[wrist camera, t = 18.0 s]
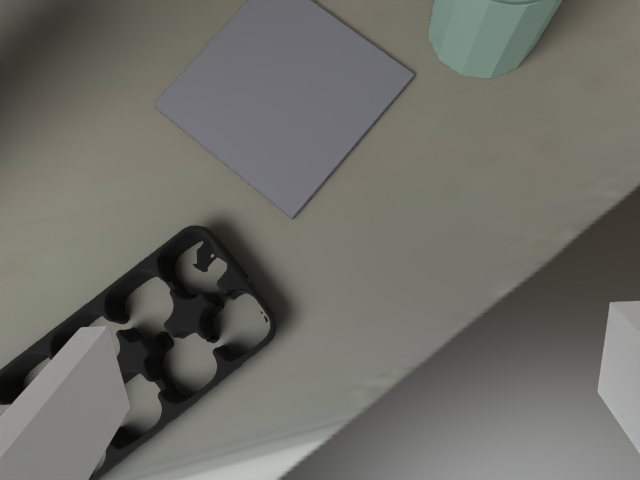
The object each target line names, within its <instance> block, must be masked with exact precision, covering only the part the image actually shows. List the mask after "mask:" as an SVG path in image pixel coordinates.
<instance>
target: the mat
mask: <svg viewBox="0 0 640 480" xmlns="http://www.w3.org/2000/svg"><path fill="white" fill-rule="evenodd" d="M414 75H415V74H413V73H412V72H410V71H409V70H408V69H406V68H405V67H403V66H402V65H401V64H399V63H398V62H396V61H395V60H394V59H392V58H391V57H389V56H388V55H387V54H385V53H384V52H382V51H381V50H380V49H378V48H377V47H375V46H374V45H373V44H371V43H370V42H368V41H367V40H366V39H364V38H363V37H361V36H360V35H359V34H357V33H356V32H354V31H353V30H352V29H350V28H349V27H347V26H346V25H345V24H343V23H342V22H340V21H339V20H338V19H336V18H335V17H333V16H332V15H331V14H329V13H328V12H326V11H325V10H324V9H322V8H321V7H319V6H318V5H317V4H315V3H314V2H312V1H311V0H247V2H246V3H245V4H244V5H243V6H242V7H241V8H240V9H239V10H238V11H237V13H236V14H235V15H234V16H233V17H232V18H231V19H230V20H229V21H228V22H227V24H226V25H225V26H224V27H223V28H222V29H221V30H220V31H219V32H218V33H217V35H216V36H215V37H214V38H213V39H212V40H211V41H210V42H209V43H208V44H207V45H206V47H205V48H204V49H203V50H202V51H201V52H200V53H199V54H198V55H197V56H196V58H195V59H194V60H193V61H192V62H191V63H190V64H189V65H188V66H187V67H186V69H185V70H184V71H183V72H182V73H181V74H180V75H179V76H178V77H177V78H176V80H175V81H174V82H173V83H172V84H171V85H170V86H169V87H168V88H167V89H166V91H165V92H164V93H163V94H162V95H161V96H160V97H159V98H158V99H157V100H156V102H155V103H154V104H153V106H154V107H155V108H156V109H158V110H159V111H160V112H161V113H162V114H164V115H165V116H166V117H167V118H169V119H170V120H171V121H172V122H174V123H175V124H176V125H177V126H178V127H180V128H181V129H182V130H183V131H185V132H186V133H187V134H188V135H189V136H191V137H192V138H193V139H194V140H196V141H197V142H198V143H199V144H200V145H202V146H203V147H204V148H205V149H207V150H208V151H209V152H210V153H211V154H213V155H214V156H215V157H216V158H218V159H219V160H220V161H221V162H223V163H224V164H225V165H226V166H227V167H229V168H230V169H231V170H232V171H234V172H235V173H236V174H237V175H238V176H240V177H241V178H242V179H243V180H245V181H246V182H247V183H248V184H249V185H251V186H252V187H253V188H254V189H256V190H257V191H258V192H259V193H260V194H262V195H263V196H264V197H265V198H267V199H268V200H269V201H270V202H272V203H273V204H274V205H275V206H276V207H278V208H279V209H280V210H281V211H283V212H284V213H285V214H286V215H287V216H289V217H290V218H291V219H292V220H293V219H294V218H295V216H296V215H297V214H298V213H299V212H300V211H301V209H302V208H303V207H304V206H305V205H306V203H307V202H308V201H309V200H310V199H311V198H312V196H313V195H314V194H315V193H316V192H317V191H318V189H319V188H320V187H321V186H322V185H323V184H324V182H325V181H326V180H327V179H328V178H329V176H330V175H331V174H332V173H333V172H334V171H335V169H336V168H337V167H338V166H339V165H340V164H341V162H342V161H343V160H344V159H345V158H346V157H347V155H348V154H349V153H350V152H351V151H352V150H353V148H354V147H355V146H356V145H357V144H358V142H359V141H360V140H361V139H362V138H363V137H364V135H365V134H366V133H367V132H368V131H369V130H370V128H371V127H372V126H373V125H374V124H375V123H376V121H377V120H378V119H379V118H380V117H381V115H382V114H383V113H384V112H385V111H386V110H387V108H388V107H389V106H390V105H391V104H392V103H393V101H394V100H395V99H396V98H397V97H398V96H399V94H400V93H401V92H402V91H403V90H404V89H405V87H406V86H407V85H408V84H409V83H410V81H411V80H412V79H413V78H414Z"/></svg>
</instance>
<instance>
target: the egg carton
mask: <svg viewBox="0 0 640 480" xmlns="http://www.w3.org/2000/svg"><path fill="white" fill-rule="evenodd" d="M201 241H203V244H202V246H201V247H200V248H199V249H198V250H197V264H193V265H194V267H196V268H197V269H199V270H201V271H202V272H206V271H208V269H207V268H208V266H209V265H210V264H211V263H212V262H213V261H214V260H215V259H216V258H217V257H218V258H220V259H222V260H223V261H224V262H226V263H227V270H226V272H225V273H224V274H223V276H222V277H221V278H220V279H219V280H218V281H217V286H218V287H219V288H220V290H221V291H222V292H223V293H224V294H225V295H226V296H227V297H229V298H230V299H232V300H234V299H236V298H237V297H238V296H240V295H242V294H245V293H247V294H250V295H251V296H253V297H254V298H255V299H256V300H257V301H258V303H259V304H260V305H261V307H262V308H263V310H264V311H265V313H266V314H267V316H268V318H269V320H270V331H269V333H268V335H267V336H266V338H265V339H264V340H262V341H261V342H260V343H259V344H258V345H257V346H255V347H254V348H253V349H252V350H250V351H249V352H248V353H246V354H245V355H235V354H233V353H232V352H231V351H230V350H229V349H228V348H227V347H226V346H225V345H223V346H220V347H217V348H215V349H214V350H213V355H214V357H215V359H216V361H217V371H216V374H215V377H214V378H213V379H212V380H211V381H210V382H209V383H208V384H207V385H206V386H205V387H204V388H203V389H201V390H200V391H199V392H197V393H196V394H195V395H193V396H185V395H183V394H182V393H180V392H179V391H178V389H177V388H176V387H175V385H174V384H173V382H172V381H171V380H170V378H169V377H168V375H167V374H166V372H165V370H164V368H163V358H164V356H165V354H166V353H167V352H168V351H169V350H170V349H171V348H172V347H173V341H172V340H171V338H170V337H169V335H168V334H167V333H165V332H161V333H159V334H158V335H156V336H154V337H150V338H146V337H143V336H142V335H141V334H140V333H139V332H138V330H137V329H135V328H132V329H127V330H119V331H117V333H116V336H117V338H118V339H119V342H120V352H119V354H118V356H117V361H118V365H119V368H120V372H121V375H122V379H123V382H124V384H126V383H127V382H128V381H129V380H131V379H132V378H133V377H135V376H136V375H138V374H142V375H143V376H144V377H145V379H146V380H148V381H151V382H155V383H156V384H157V386H158V387H159V388H160V390H161V391H160V392H159V393H158V398H159V400H160V402H161V406H162V414H161V417H160V420H159V421H158V423H157V424H156V425H155V426H154V427H152V428H151V429H150V430H149V431H148V432H147V433H146V434H145V435H143V436H142V437H133V436H131V435H130V434H129V433H128V432H127V431H126V430H125V429H124V428H123V427H119V428H118V430H117V431H116V433H115V435H114V436H113V438H112V440H111V442H110V443H109V445H108V447H107V449H106V458H105V461H104V463H103V465H102V467H101V468H100V469H99V470H98V471H97V472H96V473H95V474H94V475H93V476H91V477H90V478H89V480H99V479H100V478H101V477H102V476H103V475H105V474H106V473H107V472H108V471H109V470H111V469H112V468H113V467H114V466H115V465H117V464H118V463H119V462H120V461H122V460H123V459H124V458H125V457H127V456H128V455H129V454H130V453H132V452H133V451H134V450H136V449H137V448H138V447H139V446H141V445H142V444H143V443H145V442H147V441H148V440H149V439H151V438H152V437H153V436H154V435H156V434H157V433H158V432H159V431H161V430H162V429H163V428H164V427H165V426H166V425H167V424H168V423H169V422H171V421H172V420H174V419H176V418H177V417H178V416H179V415H181V414H182V413H183V412H184V411H186V410H187V409H188V408H189V407H191V406H192V405H193V404H195V403H196V402H197V401H198V400H199V399H200V398H201V397H202V396H203V395H205V394H206V393H207V392H208V391H210V390H211V389H212V388H213V387H215V386H216V385H217V384H219V383H220V382H221V381H222V380H223V379H225V378H226V377H227V376H228V375H230V374H231V373H232V372H234V371H235V370H236V369H238V368H239V367H240V366H241V365H242V364H243V363H244V362H245V361H246V360H247V359H249V358H250V357H251V356H253V355H255V354H256V353H257V352H258V351H260V350H261V349H262V348H263V347H265V346H266V345H267V344H268V343H269V342H270V341H271V340H272V339H273V338H274V336H275V332H276V322H275V318H274V314H273V312H272V311H271V310H270V308H269V307H268V306H267V304H266V303H265V301H264V300H263V299H262V298H261V296H260V295H259V294H258V293H257V291H256V290H255V289H254V287H253V284H251V283H250V282H249V281H248V279H247V278H248V276H247V275H246V274H245V272H244V271H243V270H242V268H241V267H240V266H239V265H238V264H237V262H236V261H235V260H234V259H233V257H232V256H231V255H230V253H229V252H228V250H227V249H226V248H225V247H224V245H223V244H222V243H221V242H220V241H219V240H218V239H217V237H216V236H215V235H214V234H213V233H212V232H211V231H210V230H208V229H207V228H205V227H201V226H189V227H186V228H184V229H183V230H181V231H180V232H179V233H178V234H176V235H175V236H174V237H172V238H171V239H170V240H169V241H167V242H166V243H165V244H163V245H162V246H161V247H159V248H158V249H157V250H156V251H154V252H153V253H152V254H150V255H149V256H148V257H146V258H145V259H144V260H143V261H141V262H140V263H139V264H137V265H136V266H135V267H134V268H132V269H131V270H130V271H128V272H127V273H126V274H124V275H123V276H122V277H121V278H119V279H118V280H117V281H115V282H114V283H113V284H112V285H110V286H109V287H108V288H106V289H105V290H104V291H103V292H101V293H100V294H99V295H97V296H96V297H95V298H94V299H92V300H91V301H90V302H88V303H87V304H86V305H84V306H83V307H82V308H81V309H79V310H78V311H77V312H75V313H74V314H73V315H71V316H70V317H69V318H67V319H66V320H65V321H63V322H62V323H61V324H60V325H58V326H57V327H56V328H54V329H53V330H51V331H50V332H49V333H47V334H46V335H45V336H44V337H43V338H41V339H40V340H39V341H37V342H36V343H35V344H33V345H32V346H31V347H29V348H28V349H27V350H26V351H24V352H23V353H22V354H20V355H19V356H18V357H16V358H15V359H14V360H12V361H11V362H10V363H9V364H7V365H6V366H5V367H4V368H2V369H1V370H0V405H7V404H12V403H13V402H14V401H15V400H16V399H17V398H18V396H19V395H20V394H21V393H22V392H23V391H24V390H23V386H22V383H23V381H24V379H25V377H26V376H27V374H28V373H29V372H30V371H31V370H32V369H33V368H35V367H36V366H37V365H38V364H40V363H41V362H42V361H44V360H45V359H46V358H48V357H49V358H50V360H52V359H53V358H54V357H55V355H56V354H57V353H58V352H59V351H60V350H61V349H62V348H63V347H64V345H65V344H66V343H67V342H68V341H69V340H70V339H71V338H72V337H73V335H74V334H75V333H76V332H77V331H78V330H79V329H80V328H81V327H88V326H89V325H90V324H91V323H93V322H94V321H95V320H96V319H98V318H99V317H101V316H103V317H104V318H105V319H107V320H108V321H112V322H115V323H119V324H126V323H127V322H128V321H129V317H128V315H127V314H126V312H125V307H124V305H125V301H126V299H127V297H128V296H129V295H130V294H131V293H132V292H133V291H134V290H135V289H137V288H138V287H139V286H141V285H142V284H143V283H145V282H146V281H148V280H149V279H151V278H153V277H159V278H160V279H161V280H163V281H164V282H165V283H166V284H167V285H168V286H169V288H170V289H171V290H170V295H171V297H172V299H173V304H174V308H173V312H172V314H171V316H170V318H169V319H168V320H167V321H166V322H165V323H164V327H165V329H166V330H167V332H168V333H169V334H170V335H172V336H173V337H178V338H182V339H183V338H185V337H187V336H188V335H190V334H192V333H197V334H198V335H199V336H200V337H201V338H203V339H206V340H207V342H211V343H215V342H217V341H218V340H219V336H218V334H217V332H216V331H215V328H214V319H215V317H216V315H217V313H218V312H219V311H221V310H222V309H223V308H224V303H223V302H222V300H221V299H220V297H219V296H218V295H217V294H215V293H206V292H205V293H203V294H201V295H199V296H197V295H196V294H194V295H190V294H189V292H188V291H187V290H186V289H185V287H184V286H183V284H182V283H181V282H180V280H179V279H178V277H177V276H176V273H175V265H176V262H177V260H178V258H179V256H180V255H181V254H182V253H184V251H186V250H187V249H189V248H191V247H192V246H194V245H195V244H197V243H199V242H201ZM211 254H214V257H213V258H210V256H211ZM247 291H248V292H247ZM261 313H262V312H261ZM264 317H265V316H264ZM265 320H266V322H267V321H268V319H267V318H266V317H265ZM47 356H48V357H47Z"/></svg>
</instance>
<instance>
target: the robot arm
mask: <svg viewBox="0 0 640 480" xmlns="http://www.w3.org/2000/svg"><path fill="white" fill-rule="evenodd" d="M598 393H599V395H600V396H601V397H602V399H603V401H604V402H605V403H606V405H607V406H608V408H609V409H610V411H611V412H612V414H613V415H614V416H615V418H616V420H617V421H618V423H619V424H620V425H621V427H622V428H623V430H624V431H625V433H626V434H627V436H628V437H629V439H630V440H631V442H632V443H633V445H634V446H635V447H636V449H637V450H638V452H639V453H640V301H630V302H611V303H610V307H609V315H608V321H607V328H606V336H605V343H604V349H603V356H602V364H601V370H600V377H599V385H598ZM129 409H130V404H129V400H128V397H127V393H126V390H125V386H124V382H123V379H122V375H121V372H120V368H119V365H118V361H117V357H116V354H115V350H114V347H113V343H112V339H111V336H110V332H109V329H108V326H97V327H81V328H80V329H79V330H78V331H77V332H76V333H75V334H74V335H73V337H72V338H71V339H70V340H69V341H68V342H67V343H66V344H65V345H64V347H63V348H62V349H61V350H60V351H59V352H58V353H57V354H56V355H55V357H54V358H53V359H52V360H51V361H50V362H49V363H48V364H47V365H46V366H45V368H44V369H43V370H42V371H41V372H40V373H39V374H38V375H37V376H36V378H35V379H34V380H33V381H32V382H31V383H30V384H29V385H28V386H27V388H26V389H25V390H24V391H23V392H22V393H21V394H20V395H19V396H18V398H17V399H16V400H15V401H14V402H13V403H12V404H11V405H10V406H9V408H8V409H7V410H6V411H5V412H4V413H3V414H2V415H1V416H0V480H89V478H90V476H91V474H92V473H93V471H94V469H95V468H96V466H97V464H98V462H99V461H100V459H101V457H102V455H103V454H104V452H105V450H106V449H107V447H108V445H109V443H110V442H111V440H112V438H113V436H114V435H115V433H116V431H117V430H118V428H119V426H120V424H121V423H122V421H123V419H124V417H125V416H126V414H127V412H128V411H129Z"/></svg>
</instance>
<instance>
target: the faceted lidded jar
mask: <svg viewBox="0 0 640 480" xmlns="http://www.w3.org/2000/svg"><path fill="white" fill-rule="evenodd" d="M562 1H563V0H434V3H433V7H432V12H431V18H430V25H429V31H428V38H429V40H430V42H431V44H432V46H433V49H434V51H435V53H436V55H437V58H438V60H440V61H441V62H443V63H444V64H445V65H447V66H448V67H450V68H451V69H453V70H454V71H455V72H457V73H458V74H460V75H462V76H470V77H478V78H486V79H490V78H493V77H496V76H499V75H501V74H504V73H507V72H509V71H512V70H515V69H516V68H517V67H518V66H519V65H520V64H521V62H522V61H523V60H524V59H525V58H526V56H527V55H528V54H529V53H530V52H531V50H532V49H533V48H534V46H535V45H536V43H537V41H538V40H539V38H540V36H541V35H542V33H543V32H544V30H545V28H546V27H547V25H548V23H549V22H550V20H551V19H552V17H553V15H554V14H555V12H556V10H557V9H558V7H559V6H560V4H561V2H562Z"/></svg>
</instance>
